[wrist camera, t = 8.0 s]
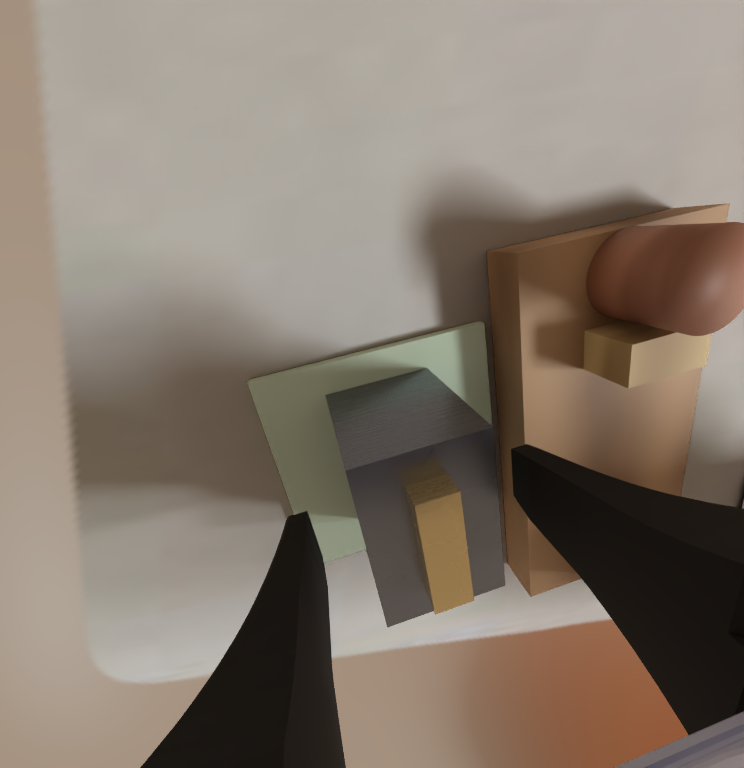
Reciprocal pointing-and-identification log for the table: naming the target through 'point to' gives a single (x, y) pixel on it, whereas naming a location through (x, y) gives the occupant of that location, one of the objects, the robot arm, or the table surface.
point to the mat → (316, 431)
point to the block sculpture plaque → (607, 353)
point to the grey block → (421, 492)
